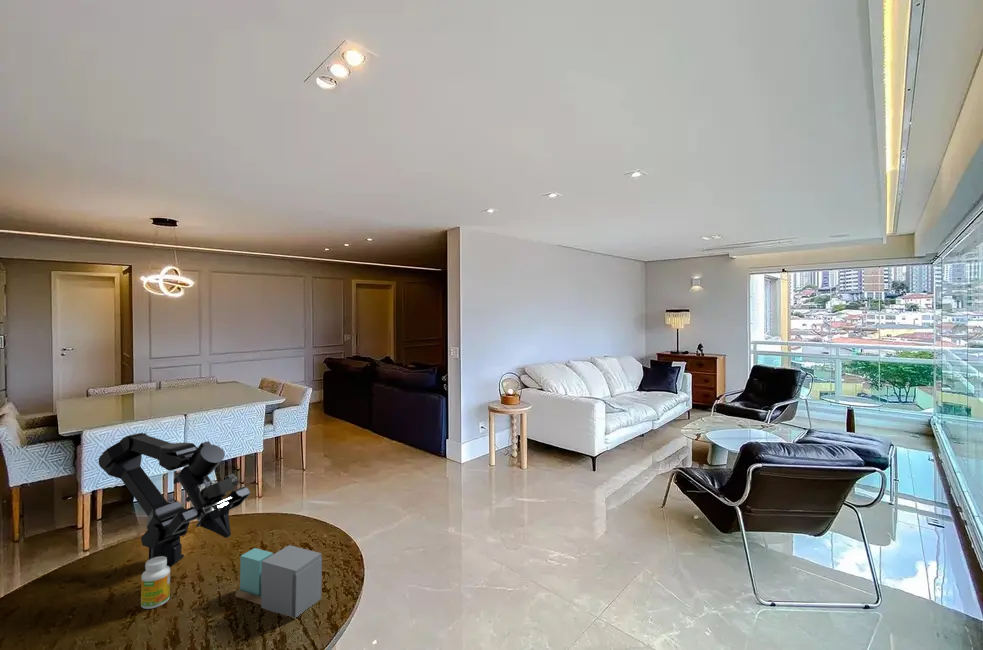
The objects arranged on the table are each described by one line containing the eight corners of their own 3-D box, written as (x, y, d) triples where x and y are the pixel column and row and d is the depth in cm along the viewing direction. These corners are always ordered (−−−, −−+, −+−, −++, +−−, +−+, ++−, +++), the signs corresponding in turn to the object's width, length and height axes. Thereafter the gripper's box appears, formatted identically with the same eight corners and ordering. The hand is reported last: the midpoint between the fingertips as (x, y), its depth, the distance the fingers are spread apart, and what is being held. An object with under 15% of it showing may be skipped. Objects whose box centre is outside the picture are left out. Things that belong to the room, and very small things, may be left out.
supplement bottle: (138, 612, 99) (138, 569, 99) (143, 598, 104) (144, 557, 103) (167, 605, 101) (168, 563, 101) (171, 592, 106) (172, 552, 106)
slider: (239, 592, 106) (240, 555, 106) (254, 583, 110) (254, 547, 110) (265, 600, 103) (265, 562, 103) (278, 591, 107) (279, 554, 107)
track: (235, 596, 105) (235, 591, 105) (258, 581, 111) (258, 577, 111) (263, 605, 102) (264, 600, 102) (285, 590, 108) (285, 585, 108)
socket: (261, 607, 101) (261, 561, 101) (288, 588, 109) (289, 544, 109) (295, 619, 98) (296, 571, 98) (321, 598, 105) (322, 553, 105)
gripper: (177, 479, 103) (210, 534, 99) (246, 456, 121) (276, 503, 117) (154, 507, 106) (185, 562, 102) (224, 481, 123) (253, 527, 120)
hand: (228, 536), depth 110 cm, fingers closed
